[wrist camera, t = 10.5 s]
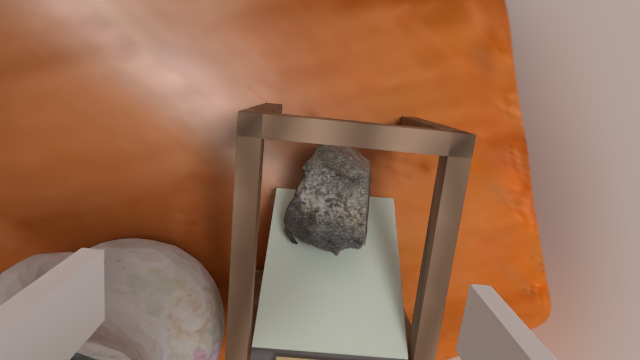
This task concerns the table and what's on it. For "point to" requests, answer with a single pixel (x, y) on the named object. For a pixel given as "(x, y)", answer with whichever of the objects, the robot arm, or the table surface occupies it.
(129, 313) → the ceramic pitcher
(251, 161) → the stand
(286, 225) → the rock
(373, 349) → the trapdoor
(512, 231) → the table surface
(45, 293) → the robot arm
